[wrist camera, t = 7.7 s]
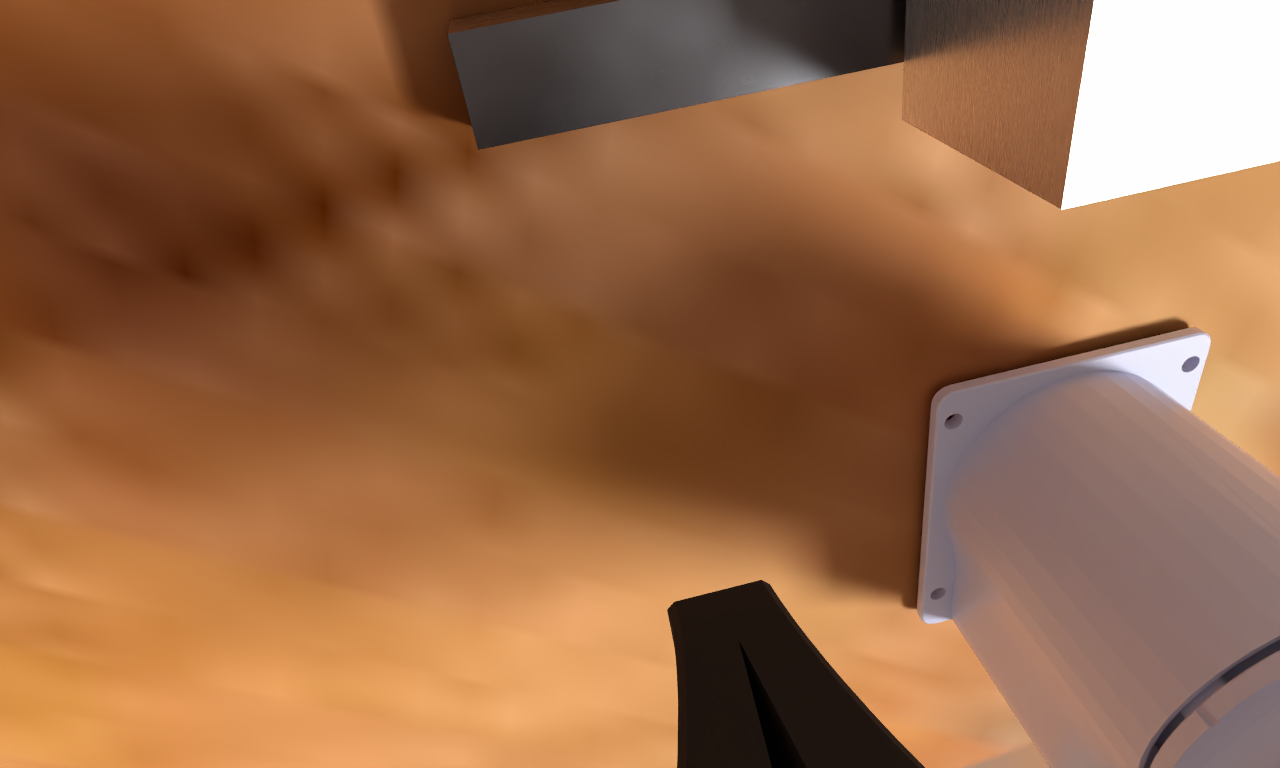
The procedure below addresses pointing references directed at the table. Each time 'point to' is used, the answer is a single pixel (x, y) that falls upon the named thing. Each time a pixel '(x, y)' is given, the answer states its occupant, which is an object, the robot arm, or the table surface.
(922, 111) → the sliding divider leg
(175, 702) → the table surface
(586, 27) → the bar
